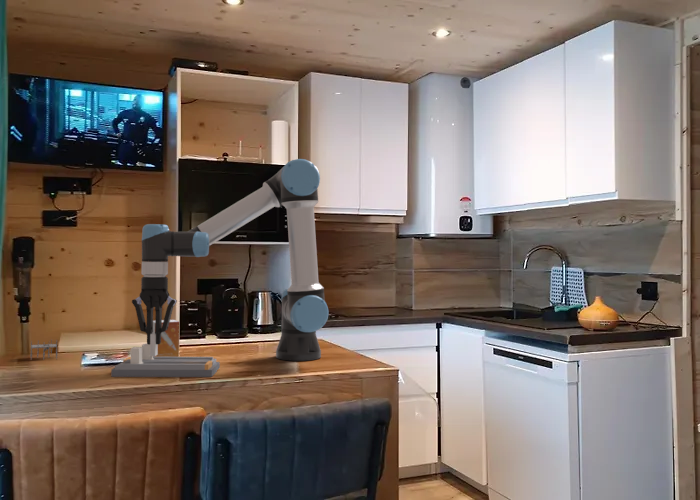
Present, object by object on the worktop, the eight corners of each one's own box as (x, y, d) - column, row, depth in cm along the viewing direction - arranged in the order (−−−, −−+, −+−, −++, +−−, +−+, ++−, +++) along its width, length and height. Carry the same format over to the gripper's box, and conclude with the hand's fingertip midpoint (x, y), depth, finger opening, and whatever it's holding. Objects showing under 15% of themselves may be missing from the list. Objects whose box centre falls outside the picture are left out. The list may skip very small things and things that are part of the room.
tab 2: (153, 361, 186) (154, 343, 187) (150, 363, 183) (151, 345, 183) (143, 361, 186) (143, 343, 186) (140, 363, 183) (140, 344, 183)
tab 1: (143, 365, 179) (143, 346, 179) (139, 367, 176) (140, 348, 176) (132, 365, 179) (132, 346, 179) (129, 367, 176) (129, 348, 176)
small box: (154, 363, 195) (154, 322, 196) (148, 360, 201) (148, 320, 201) (179, 361, 200) (179, 321, 200) (173, 358, 205) (173, 319, 205)
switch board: (219, 368, 189) (219, 356, 189) (211, 376, 176) (211, 364, 176) (126, 368, 188) (126, 356, 188) (111, 376, 175) (111, 364, 175)
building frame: (30, 358, 204) (30, 340, 204) (57, 356, 207) (57, 339, 207) (29, 361, 198) (30, 342, 198) (57, 359, 202) (57, 341, 202)
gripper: (179, 275, 189) (178, 353, 189) (136, 275, 189) (135, 353, 188) (173, 276, 182) (172, 357, 181) (128, 276, 181) (127, 357, 181)
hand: (153, 355), depth 185 cm, fingers closed
